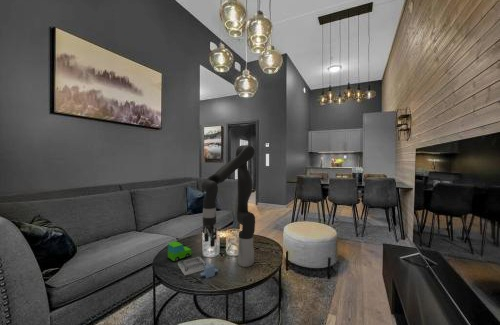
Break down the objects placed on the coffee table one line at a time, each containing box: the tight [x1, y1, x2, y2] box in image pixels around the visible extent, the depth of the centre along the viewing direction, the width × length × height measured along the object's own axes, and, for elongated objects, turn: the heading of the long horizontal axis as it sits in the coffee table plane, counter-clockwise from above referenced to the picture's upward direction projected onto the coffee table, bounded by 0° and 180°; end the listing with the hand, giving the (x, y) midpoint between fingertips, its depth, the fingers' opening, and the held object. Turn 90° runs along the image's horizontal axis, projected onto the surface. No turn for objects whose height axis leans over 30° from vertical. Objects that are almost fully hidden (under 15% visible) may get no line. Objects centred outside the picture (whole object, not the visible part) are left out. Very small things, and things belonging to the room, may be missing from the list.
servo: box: [200, 263, 219, 279], centre depth 122 cm, size 10×4×6 cm, turn 123°
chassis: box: [177, 255, 208, 276], centre depth 131 cm, size 14×14×3 cm
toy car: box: [167, 241, 193, 263], centre depth 143 cm, size 10×13×10 cm
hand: (209, 243), depth 122 cm, fingers open, 8 cm apart
